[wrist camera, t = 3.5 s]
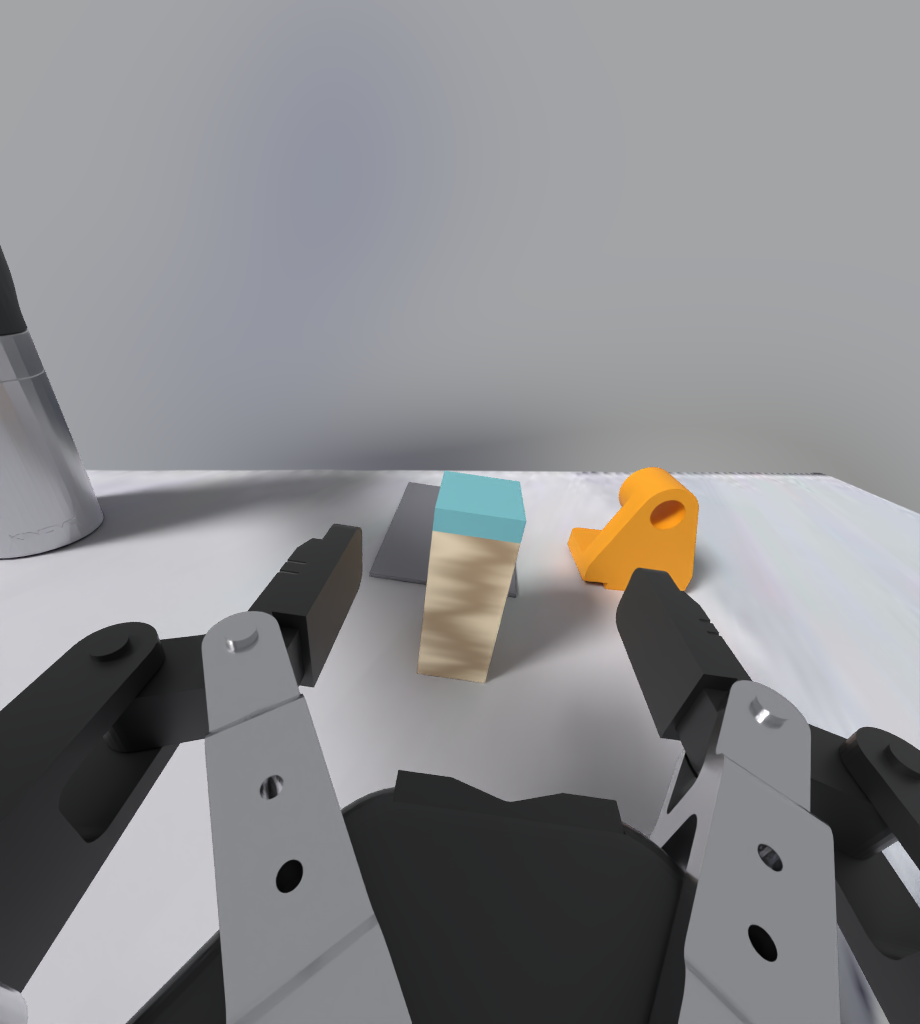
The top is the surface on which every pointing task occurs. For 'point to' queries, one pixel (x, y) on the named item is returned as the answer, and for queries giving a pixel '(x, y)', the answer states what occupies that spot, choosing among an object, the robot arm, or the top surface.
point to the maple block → (469, 573)
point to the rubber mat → (412, 538)
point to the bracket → (641, 533)
